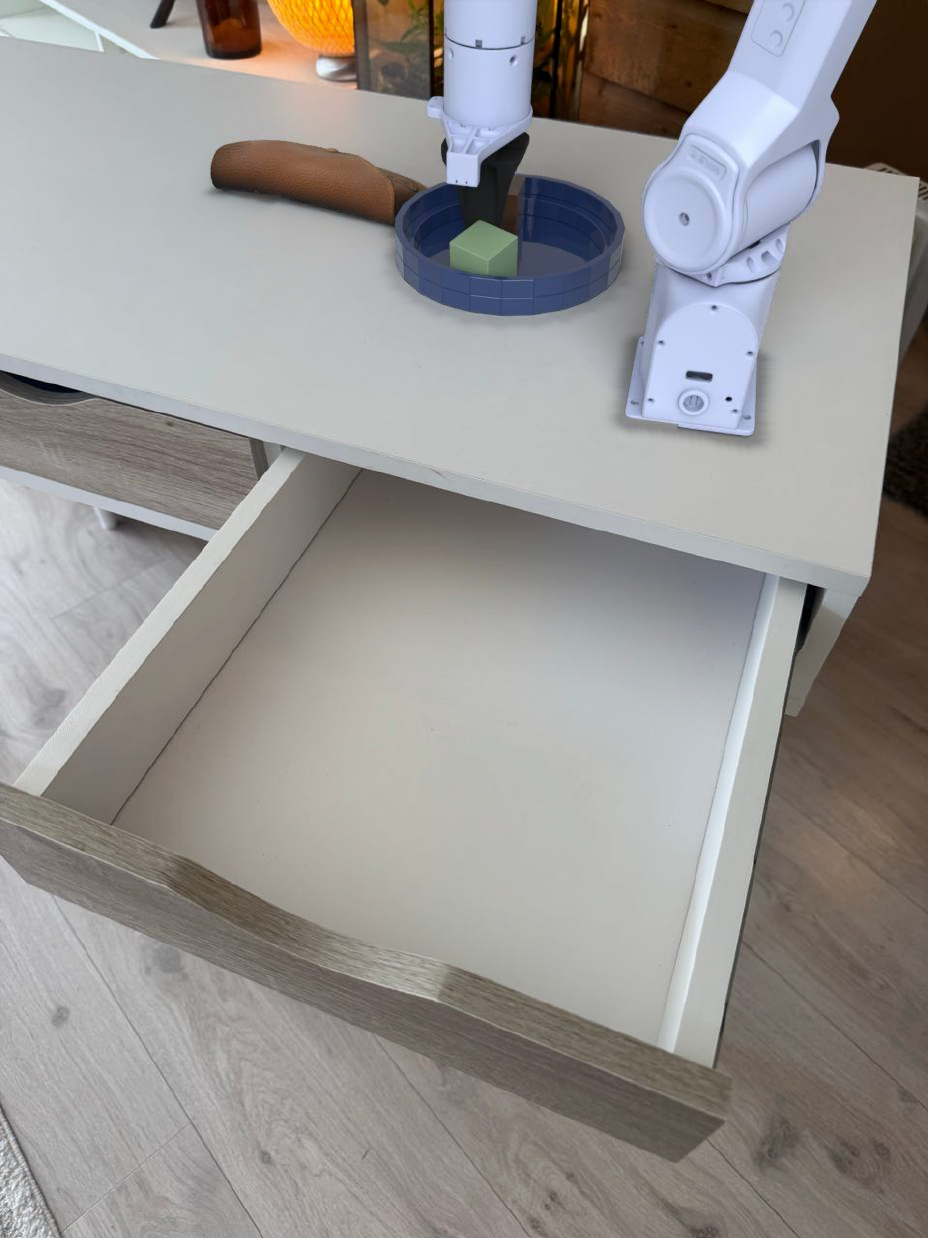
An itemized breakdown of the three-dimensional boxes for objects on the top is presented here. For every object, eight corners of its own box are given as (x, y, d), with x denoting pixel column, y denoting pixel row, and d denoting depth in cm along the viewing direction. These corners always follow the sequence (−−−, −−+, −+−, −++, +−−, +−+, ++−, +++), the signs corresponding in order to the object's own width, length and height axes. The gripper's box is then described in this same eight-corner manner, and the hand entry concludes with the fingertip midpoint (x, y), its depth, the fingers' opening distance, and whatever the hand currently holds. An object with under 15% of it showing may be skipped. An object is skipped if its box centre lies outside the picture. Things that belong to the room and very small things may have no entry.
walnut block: (515, 239, 74) (517, 195, 71) (472, 235, 75) (473, 190, 72) (523, 219, 76) (525, 175, 74) (481, 215, 77) (482, 171, 74)
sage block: (488, 302, 68) (488, 260, 65) (450, 284, 69) (449, 242, 66) (516, 278, 69) (518, 236, 66) (479, 261, 70) (479, 218, 68)
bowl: (604, 334, 66) (609, 292, 63) (370, 306, 68) (366, 264, 66) (630, 223, 77) (635, 184, 75) (428, 202, 79) (426, 163, 77)
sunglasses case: (442, 188, 80) (422, 132, 74) (412, 260, 79) (389, 209, 73) (264, 152, 85) (231, 96, 79) (234, 219, 84) (198, 168, 78)
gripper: (454, -10, 64) (451, 189, 74) (396, 68, 54) (403, 283, 65) (556, 0, 63) (539, 200, 73) (515, 82, 54) (502, 297, 64)
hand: (481, 240), depth 69 cm, fingers closed, pressing on sage block
